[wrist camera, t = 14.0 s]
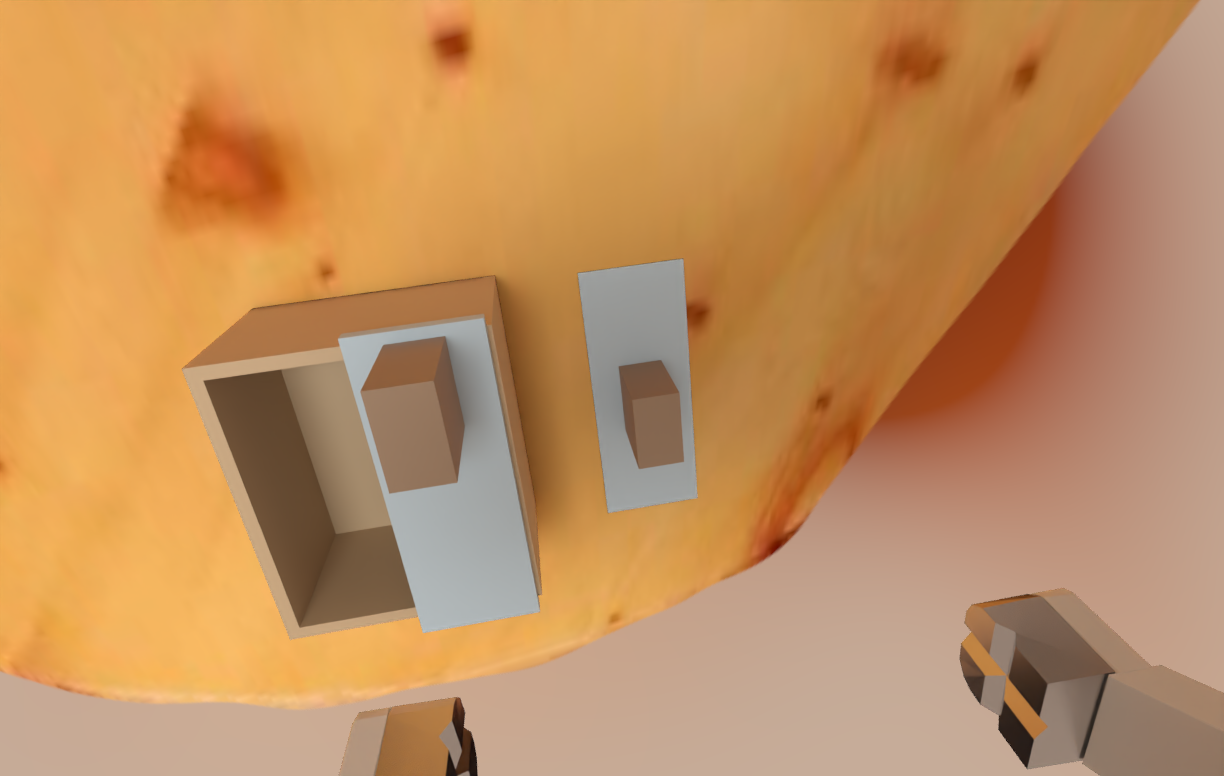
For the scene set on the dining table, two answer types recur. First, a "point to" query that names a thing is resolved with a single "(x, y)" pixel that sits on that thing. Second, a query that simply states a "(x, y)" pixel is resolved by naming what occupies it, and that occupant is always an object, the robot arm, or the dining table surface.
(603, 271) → the lid
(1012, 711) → the robot arm
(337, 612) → the open cardboard box
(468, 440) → the lid
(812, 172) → the dining table surface
